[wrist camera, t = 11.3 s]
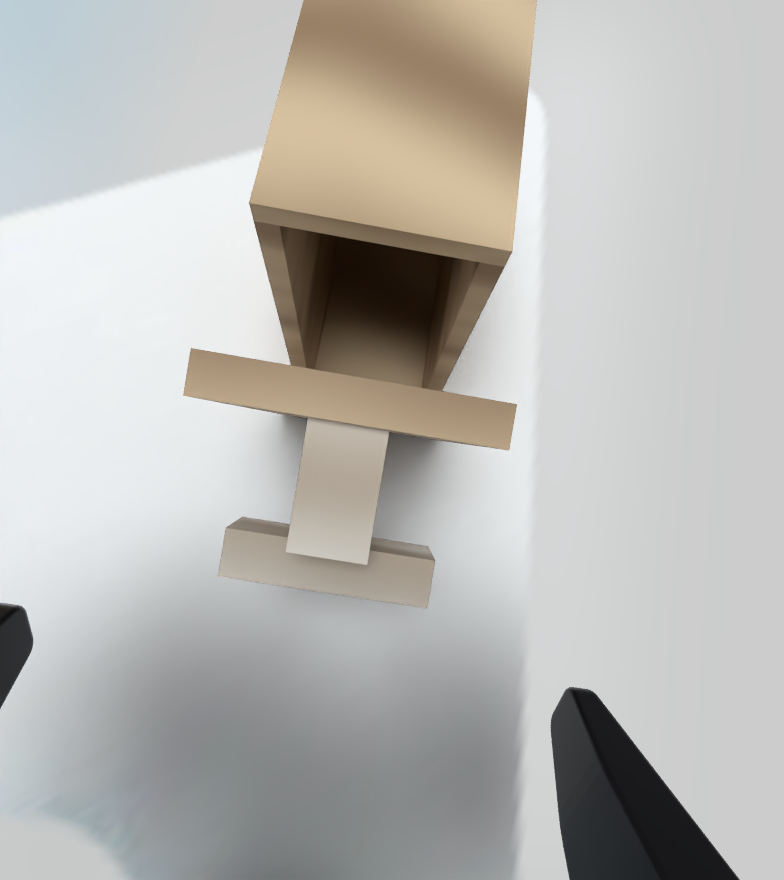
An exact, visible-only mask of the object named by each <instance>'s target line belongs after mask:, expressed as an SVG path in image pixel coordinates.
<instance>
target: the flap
mask: <svg viewBox="0 0 784 880" xmlns="http://www.w3.org/2000/svg"><path fill="white" fill-rule="evenodd" d="M183 395H184V396H189V397H194V398H199V399H205V400H210V401H215V402H220V403H226V404H231V405H236V406H242V407H247V408H252V409H257V410H263V411H268V412H273V413H278V414H284V415H290V416H296V417H302V418H308V420H307V426H306V432H305V438H304V444H303V450H302V456H301V462H300V468H299V474H298V480H297V486H296V492H295V498H294V504H293V510H292V517H291V523H290V524H284V523H278V522H271V521H265V520H259V519H253V518H246V517H241V518H240V519H238V520H237V521H235V522H234V523H232V524H231V525H229V526H228V527H226V530H225V536H224V542H223V549H222V555H221V561H220V567H219V573H218V576H220V577H227V578H233V579H240V580H246V581H253V582H259V583H266V584H272V585H279V586H285V587H292V588H298V589H305V590H311V591H318V592H324V593H331V594H337V595H344V596H350V597H357V598H363V599H370V600H376V601H383V602H389V603H396V604H402V605H409V606H415V607H422V608H427V606H428V600H429V594H430V588H431V582H432V576H433V570H434V565H435V560H434V558H433V555H432V553H431V551H430V549H429V547H428V546H423V545H416V544H410V543H404V542H397V541H391V540H385V539H378V538H372V532H373V526H374V520H375V514H376V508H377V503H378V497H379V491H380V485H381V479H382V473H383V467H384V461H385V455H386V449H387V443H388V437H389V432H391V433H397V434H403V435H409V436H415V437H421V438H427V439H433V440H439V441H446V442H454V443H461V444H468V445H475V446H483V447H490V448H497V449H504V450H509V448H510V442H511V436H512V430H513V424H514V418H515V412H516V407H517V404H512V403H506V402H500V401H495V400H489V399H483V398H477V397H471V396H465V395H460V394H454V393H448V392H442V391H436V390H431V389H425V388H419V387H413V386H407V385H401V384H396V383H390V382H384V381H378V380H372V379H367V378H361V377H355V376H349V375H343V374H337V373H332V372H326V371H320V370H314V369H308V368H303V367H297V366H291V365H285V364H279V363H274V362H268V361H262V360H256V359H250V358H244V357H239V356H233V355H227V354H221V353H215V352H210V351H204V350H198V349H192V348H191V351H190V357H189V363H188V369H187V375H186V382H185V388H184V394H183Z"/></svg>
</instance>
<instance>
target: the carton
mask: <svg viewBox="0 0 784 880" xmlns="http://www.w3.org/2000/svg"><path fill="white" fill-rule="evenodd" d="M536 5H537V0H304V1H303V5H302V9H301V13H300V16H299V20H298V23H297V27H296V31H295V35H294V39H293V42H292V46H291V49H290V53H289V57H288V61H287V64H286V68H285V72H284V76H283V79H282V83H281V87H280V90H279V94H278V98H277V101H276V105H275V109H274V113H273V116H272V120H271V124H270V128H269V131H268V135H267V138H266V142H265V146H264V149H263V153H262V157H261V161H260V164H259V168H258V172H257V175H256V179H255V183H254V187H253V190H252V194H251V198H250V201H249V204H250V208H251V212H252V216H253V220H254V224H255V227H256V231H257V235H258V239H259V243H260V247H261V251H262V254H263V258H264V262H265V266H266V270H267V274H268V278H269V281H270V285H271V289H272V293H273V297H274V301H275V305H276V308H277V312H278V316H279V320H280V324H281V328H282V332H283V335H284V339H285V343H286V347H287V351H288V355H289V359H290V362H291V366H297V367H303V368H308V369H314V370H320V371H326V372H332V373H337V374H343V375H349V376H355V377H361V378H367V379H372V380H378V381H384V382H390V383H396V384H401V385H407V386H413V387H419V388H425V389H431V390H436V391H442V389H443V388H444V386H445V384H446V382H447V380H448V378H449V376H450V374H451V372H452V370H453V368H454V366H455V364H456V362H457V360H458V358H459V356H460V354H461V352H462V350H463V348H464V346H465V344H466V342H467V340H468V338H469V336H470V334H471V332H472V330H473V328H474V326H475V324H476V322H477V320H478V318H479V316H480V314H481V312H482V310H483V308H484V306H485V304H486V302H487V300H488V298H489V296H490V294H491V292H492V291H493V289H494V287H495V285H496V283H497V281H498V279H499V277H500V275H501V273H502V271H503V269H504V267H505V265H506V263H507V261H508V259H509V257H510V255H511V253H512V249H513V239H514V229H515V218H516V208H517V198H518V188H519V178H520V168H521V158H522V147H523V137H524V127H525V117H526V107H527V97H528V87H529V76H530V66H531V56H532V45H533V35H534V25H535V16H536V15H535V14H536Z"/></svg>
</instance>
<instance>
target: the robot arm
mask: <svg viewBox="0 0 784 880" xmlns="http://www.w3.org/2000/svg"><path fill="white" fill-rule="evenodd" d="M32 646H33V636H32V632H31V628H30V624H29V621H28V617H27V613H26V610H25V609H24V608H23V607H22V606H19V605H13V604H6V603H0V708H1V706H2V705H3V703H4V701H5V699H6V697H7V695H8V694H9V692H10V690H11V688H12V686H13V684H14V683H15V681H16V679H17V677H18V675H19V673H20V672H21V670H22V668H23V666H24V664H25V662H26V660H27V659H28V657H29V655H30V653H31V650H32ZM551 738H552V748H553V758H554V769H555V779H556V790H557V801H558V812H559V821H560V829H561V835H562V841H563V847H564V852H565V858H566V863H567V868H568V873H569V879H570V880H739V878H738V877H737V876H736V874H735V873H734V872H733V871H732V869H731V868H730V867H729V865H728V864H727V863H726V861H725V860H724V859H723V858H722V856H721V855H720V854H719V853H718V851H717V850H716V849H715V847H714V846H713V845H712V843H711V842H710V841H709V839H708V838H707V837H706V836H705V834H704V833H703V832H702V830H701V829H700V828H699V827H698V825H697V824H696V823H695V821H694V820H693V819H692V818H691V816H690V815H689V814H688V812H687V811H686V810H685V809H684V807H683V806H682V805H681V803H680V802H679V801H678V799H677V798H676V797H675V796H674V794H673V793H672V792H671V790H670V789H669V788H668V786H667V785H666V784H665V783H664V781H663V780H662V779H661V777H660V776H659V775H658V774H657V772H656V771H655V770H654V768H653V767H652V766H651V765H650V763H649V762H648V761H647V759H646V758H645V757H644V755H643V754H642V753H641V752H640V750H639V749H638V748H637V746H636V745H635V744H634V743H633V741H632V740H631V739H630V737H629V736H628V735H627V733H626V732H625V731H624V730H623V728H622V727H621V726H620V724H619V723H618V722H617V721H616V719H615V718H614V717H613V715H612V714H611V713H610V711H609V710H608V709H607V708H606V706H605V705H604V704H603V703H602V701H601V700H600V699H599V697H598V696H597V695H596V694H595V693H594V692H593V691H591V690H588V689H582V688H574V687H569V688H568V689H566V690H565V692H564V694H563V696H562V698H561V699H560V701H559V703H558V705H557V707H556V709H555V711H554V713H553V715H552V719H551Z"/></svg>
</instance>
